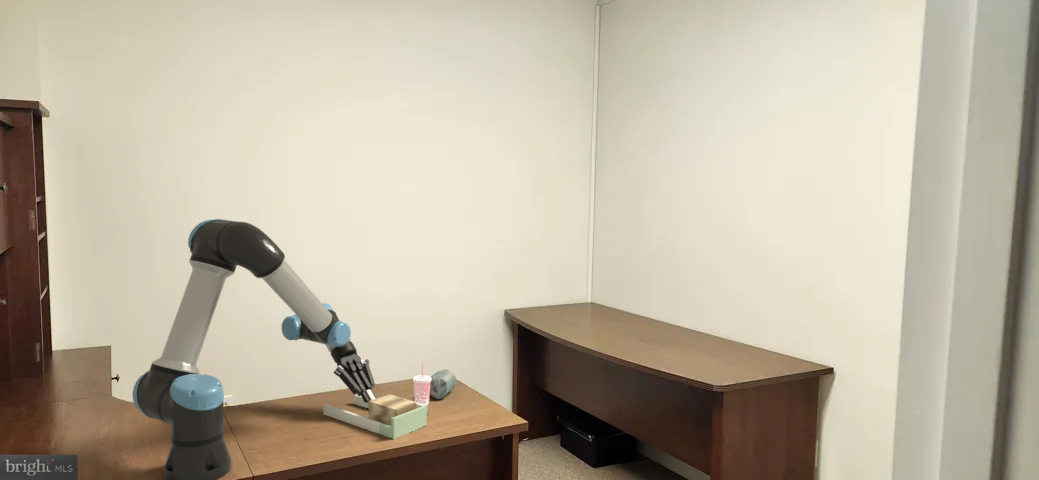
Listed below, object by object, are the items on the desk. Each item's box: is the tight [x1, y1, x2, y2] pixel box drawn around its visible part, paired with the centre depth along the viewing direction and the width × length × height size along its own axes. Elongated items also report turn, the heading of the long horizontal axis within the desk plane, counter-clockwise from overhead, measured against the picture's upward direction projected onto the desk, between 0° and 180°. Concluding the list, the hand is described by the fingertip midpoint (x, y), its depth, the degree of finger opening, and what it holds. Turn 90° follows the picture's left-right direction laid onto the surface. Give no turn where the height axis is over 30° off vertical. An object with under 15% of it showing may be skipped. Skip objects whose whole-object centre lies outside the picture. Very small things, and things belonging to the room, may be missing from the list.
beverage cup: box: [412, 362, 432, 406], centre depth 220 cm, size 6×6×14 cm
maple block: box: [368, 394, 417, 426], centre depth 201 cm, size 12×8×8 cm, turn 55°
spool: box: [430, 369, 457, 400], centre depth 231 cm, size 14×10×10 cm
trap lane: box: [323, 393, 429, 440], centre depth 208 cm, size 31×20×6 cm, turn 54°
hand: (376, 409), depth 206 cm, fingers closed
